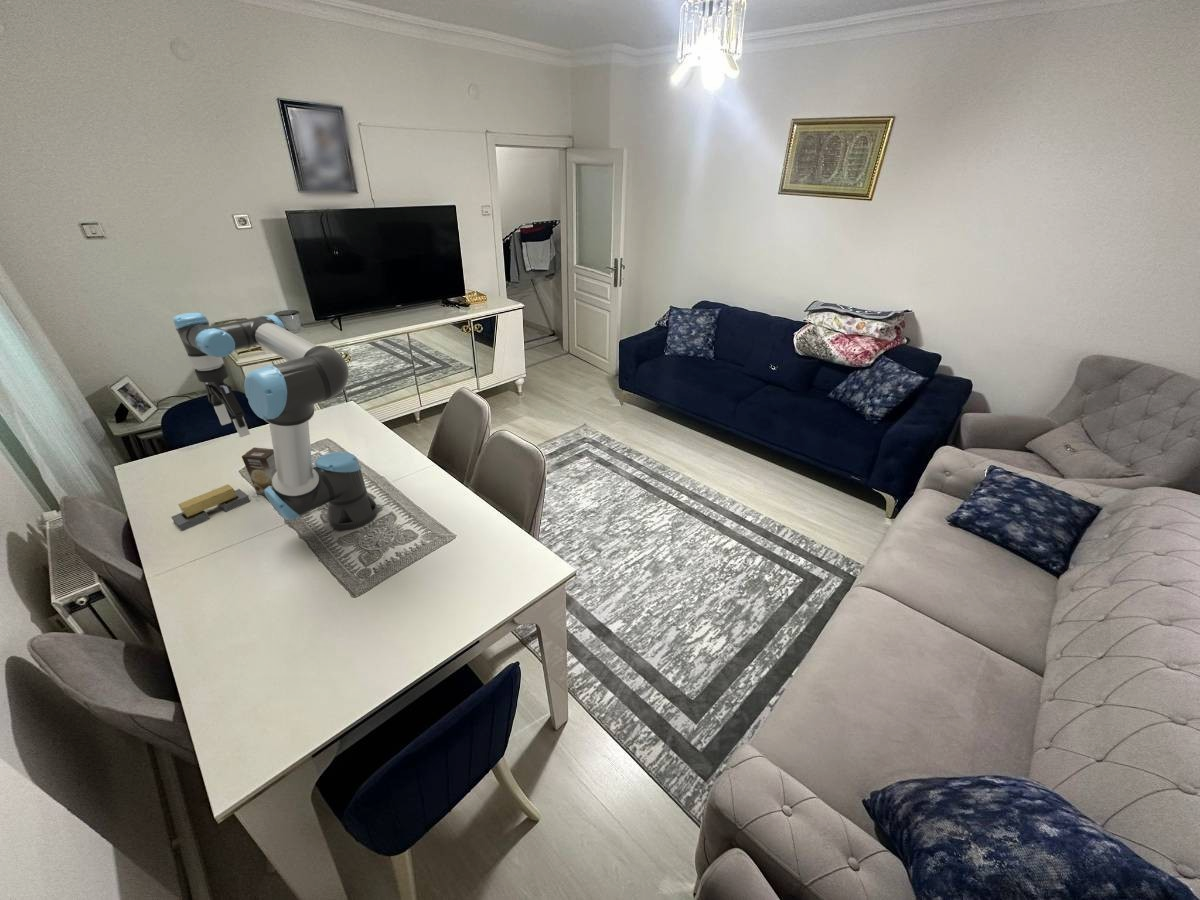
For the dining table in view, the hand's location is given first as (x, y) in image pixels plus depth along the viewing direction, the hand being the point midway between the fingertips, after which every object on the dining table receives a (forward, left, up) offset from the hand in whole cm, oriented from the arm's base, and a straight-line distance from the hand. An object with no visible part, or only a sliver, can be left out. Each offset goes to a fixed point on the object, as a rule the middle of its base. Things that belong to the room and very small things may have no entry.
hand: (235, 429), depth 154 cm
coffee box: (+5, -5, -29) cm, 30 cm away
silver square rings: (+8, +13, -29) cm, 33 cm away
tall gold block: (+8, +13, -29) cm, 32 cm away
